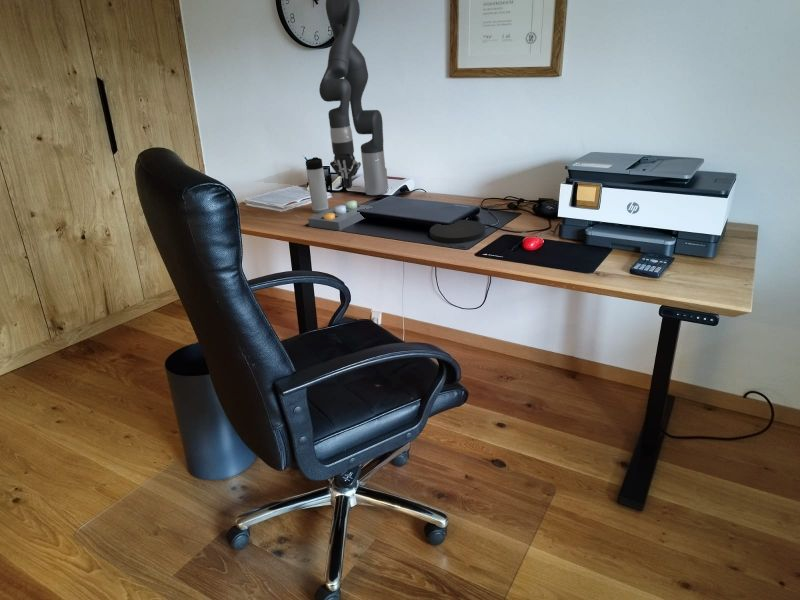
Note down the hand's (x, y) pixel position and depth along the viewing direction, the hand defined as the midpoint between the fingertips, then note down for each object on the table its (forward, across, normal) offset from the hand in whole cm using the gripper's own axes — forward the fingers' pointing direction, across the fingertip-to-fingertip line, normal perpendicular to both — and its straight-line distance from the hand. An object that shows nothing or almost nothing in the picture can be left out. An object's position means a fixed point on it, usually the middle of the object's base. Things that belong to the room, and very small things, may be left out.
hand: (348, 187), depth 204 cm
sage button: (+9, 0, 0) cm, 9 cm away
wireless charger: (+10, -47, +5) cm, 49 cm away
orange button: (+9, 0, +13) cm, 16 cm away
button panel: (+10, 0, +7) cm, 12 cm away
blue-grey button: (+9, 0, +7) cm, 11 cm away
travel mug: (+11, +16, 0) cm, 19 cm away
